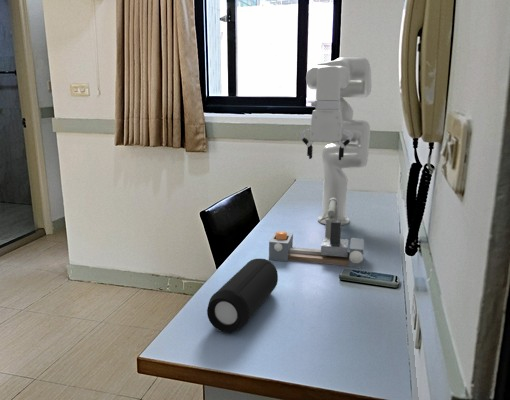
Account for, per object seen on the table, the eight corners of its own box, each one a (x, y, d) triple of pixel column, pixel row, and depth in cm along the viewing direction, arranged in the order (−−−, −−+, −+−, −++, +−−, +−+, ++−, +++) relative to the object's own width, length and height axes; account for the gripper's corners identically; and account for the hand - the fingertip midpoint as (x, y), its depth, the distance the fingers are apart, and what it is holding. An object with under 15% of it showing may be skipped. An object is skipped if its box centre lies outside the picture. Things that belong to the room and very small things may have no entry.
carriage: (323, 246, 152) (324, 216, 149) (348, 248, 150) (349, 218, 147) (320, 254, 144) (322, 224, 142) (347, 257, 142) (348, 226, 140)
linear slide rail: (274, 248, 157) (275, 232, 156) (362, 256, 151) (363, 239, 149) (268, 259, 147) (268, 242, 146) (362, 268, 141) (363, 250, 139)
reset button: (276, 242, 153) (276, 230, 152) (287, 243, 152) (287, 231, 151) (274, 246, 149) (274, 234, 148) (285, 247, 149) (286, 235, 148)
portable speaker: (246, 286, 128) (246, 253, 126) (280, 292, 125) (281, 258, 122) (204, 331, 105) (203, 291, 103) (244, 340, 102) (244, 299, 99)
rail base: (274, 249, 156) (274, 242, 155) (362, 257, 150) (363, 250, 149) (269, 258, 149) (269, 251, 148) (362, 267, 142) (362, 259, 141)
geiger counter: (339, 211, 151) (340, 193, 175) (319, 210, 153) (323, 192, 176) (336, 251, 155) (338, 229, 179) (317, 250, 156) (322, 227, 180)
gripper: (298, 106, 147) (297, 159, 151) (354, 107, 143) (351, 162, 147) (302, 105, 154) (300, 156, 158) (355, 105, 150) (352, 158, 154)
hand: (325, 158), depth 153 cm, fingers open, 9 cm apart
